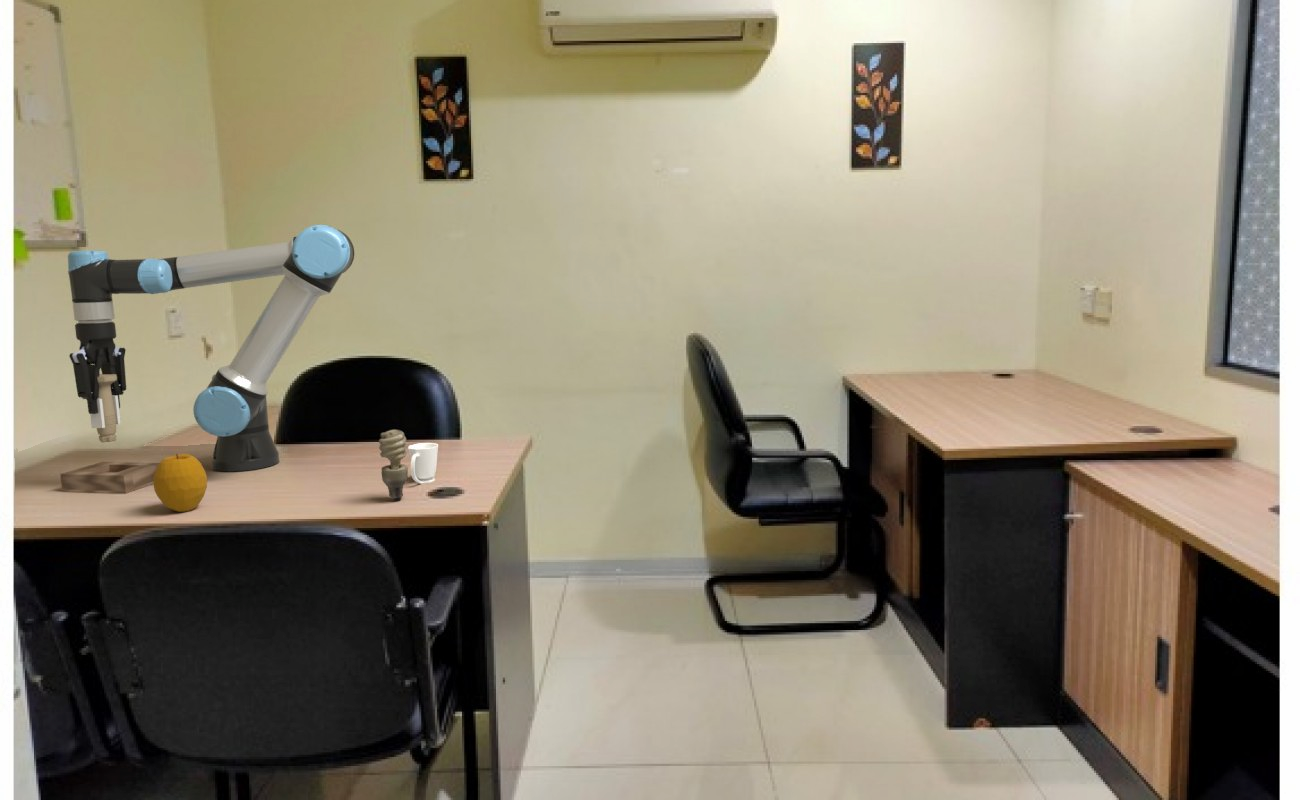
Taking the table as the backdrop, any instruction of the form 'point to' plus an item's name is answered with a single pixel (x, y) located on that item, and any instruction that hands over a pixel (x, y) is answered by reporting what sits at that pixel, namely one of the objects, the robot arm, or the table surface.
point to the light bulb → (394, 462)
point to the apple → (180, 482)
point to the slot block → (109, 477)
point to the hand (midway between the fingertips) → (106, 425)
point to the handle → (107, 408)
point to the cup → (423, 461)
